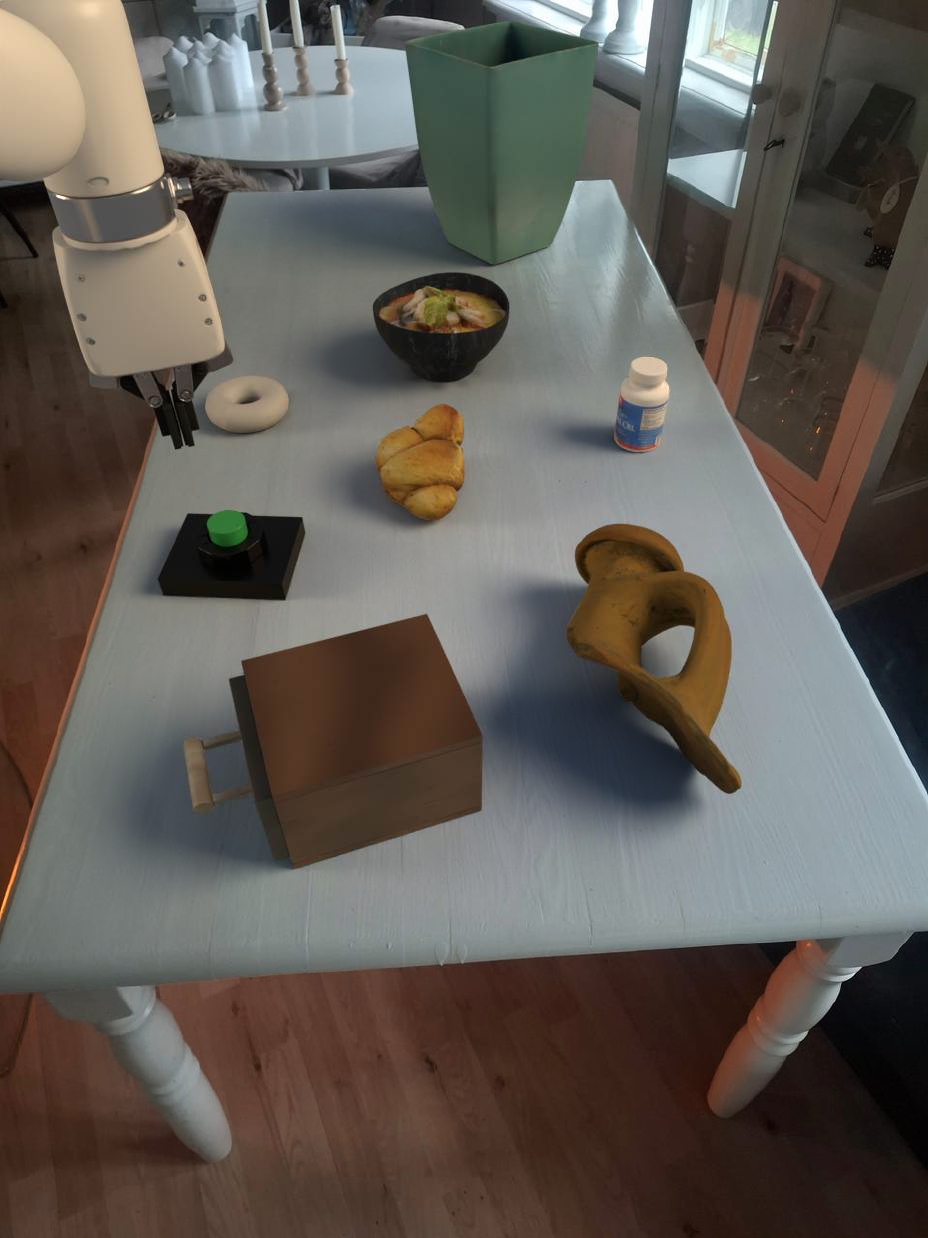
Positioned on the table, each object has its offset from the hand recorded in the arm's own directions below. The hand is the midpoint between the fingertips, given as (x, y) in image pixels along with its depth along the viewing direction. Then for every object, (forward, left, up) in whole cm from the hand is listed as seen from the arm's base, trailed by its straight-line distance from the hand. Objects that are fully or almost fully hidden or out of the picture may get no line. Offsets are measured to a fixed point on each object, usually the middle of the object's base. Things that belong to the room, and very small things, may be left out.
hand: (183, 438), depth 71 cm
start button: (-2, +4, -14) cm, 15 cm away
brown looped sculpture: (+40, +4, -18) cm, 44 cm away
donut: (-16, +28, -18) cm, 36 cm away
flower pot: (-7, +87, -18) cm, 89 cm away
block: (-2, +4, -18) cm, 18 cm away
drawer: (+19, -16, -17) cm, 30 cm away
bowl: (+1, +48, -18) cm, 51 cm away
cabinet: (+22, -13, -18) cm, 31 cm away
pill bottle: (+29, +41, -18) cm, 53 cm away
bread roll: (+10, +22, -18) cm, 30 cm away
